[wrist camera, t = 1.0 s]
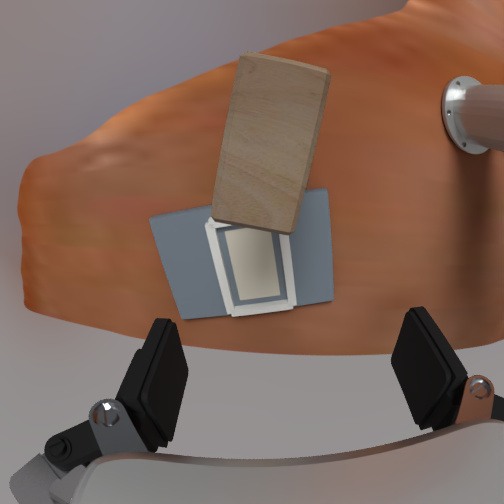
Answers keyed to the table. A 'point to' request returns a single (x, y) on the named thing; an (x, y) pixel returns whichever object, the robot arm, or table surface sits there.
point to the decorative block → (269, 142)
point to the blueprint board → (246, 261)
